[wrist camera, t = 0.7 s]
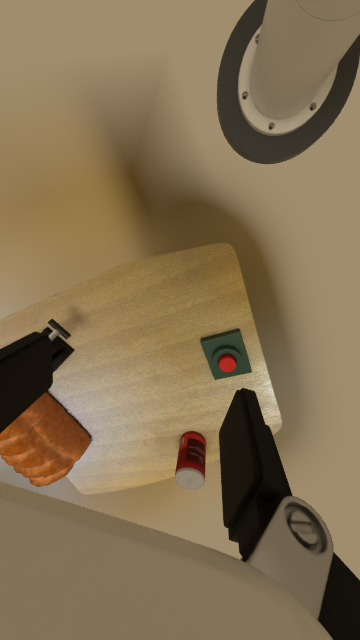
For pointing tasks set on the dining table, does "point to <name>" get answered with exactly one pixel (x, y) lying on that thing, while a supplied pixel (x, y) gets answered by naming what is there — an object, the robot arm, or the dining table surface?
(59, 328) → the lever
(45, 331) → the bracket
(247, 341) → the dining table surface
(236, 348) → the button box
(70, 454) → the bread
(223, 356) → the button
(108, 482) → the dining table surface
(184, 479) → the canned food
